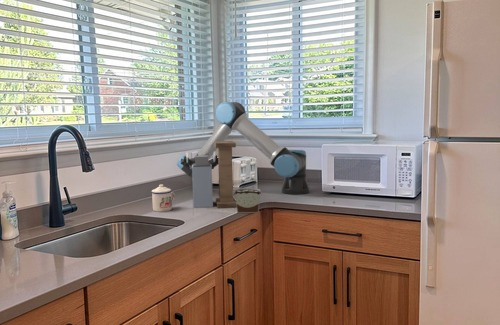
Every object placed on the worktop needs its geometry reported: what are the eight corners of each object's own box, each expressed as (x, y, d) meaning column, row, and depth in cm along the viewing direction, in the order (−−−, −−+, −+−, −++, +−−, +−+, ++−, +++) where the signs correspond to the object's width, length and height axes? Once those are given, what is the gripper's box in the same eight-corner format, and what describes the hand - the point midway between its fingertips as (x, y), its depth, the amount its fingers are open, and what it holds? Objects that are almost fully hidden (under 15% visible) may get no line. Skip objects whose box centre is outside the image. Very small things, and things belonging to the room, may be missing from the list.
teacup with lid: (160, 212, 196) (159, 187, 194) (148, 210, 201) (147, 185, 200) (181, 208, 205) (180, 183, 203) (168, 205, 210) (167, 181, 209)
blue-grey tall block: (193, 202, 216) (191, 163, 214) (211, 202, 217) (210, 162, 215) (193, 207, 205) (192, 166, 203) (212, 206, 206) (211, 165, 204)
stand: (215, 202, 216) (214, 141, 213) (233, 201, 218) (232, 141, 214) (217, 208, 203) (215, 143, 199) (237, 207, 204) (235, 142, 200)
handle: (194, 161, 223) (194, 153, 222) (206, 160, 224) (206, 153, 223) (195, 165, 204) (195, 157, 204) (208, 165, 205) (208, 156, 204)
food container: (262, 209, 198) (262, 187, 197) (261, 212, 192) (261, 190, 191) (235, 209, 199) (235, 187, 198) (233, 212, 193) (233, 190, 192)
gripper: (224, 176, 236) (226, 160, 217) (177, 178, 232) (175, 162, 213) (223, 163, 239) (225, 146, 220) (176, 165, 235) (175, 148, 216)
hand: (200, 154), depth 216 cm, fingers open, 13 cm apart
